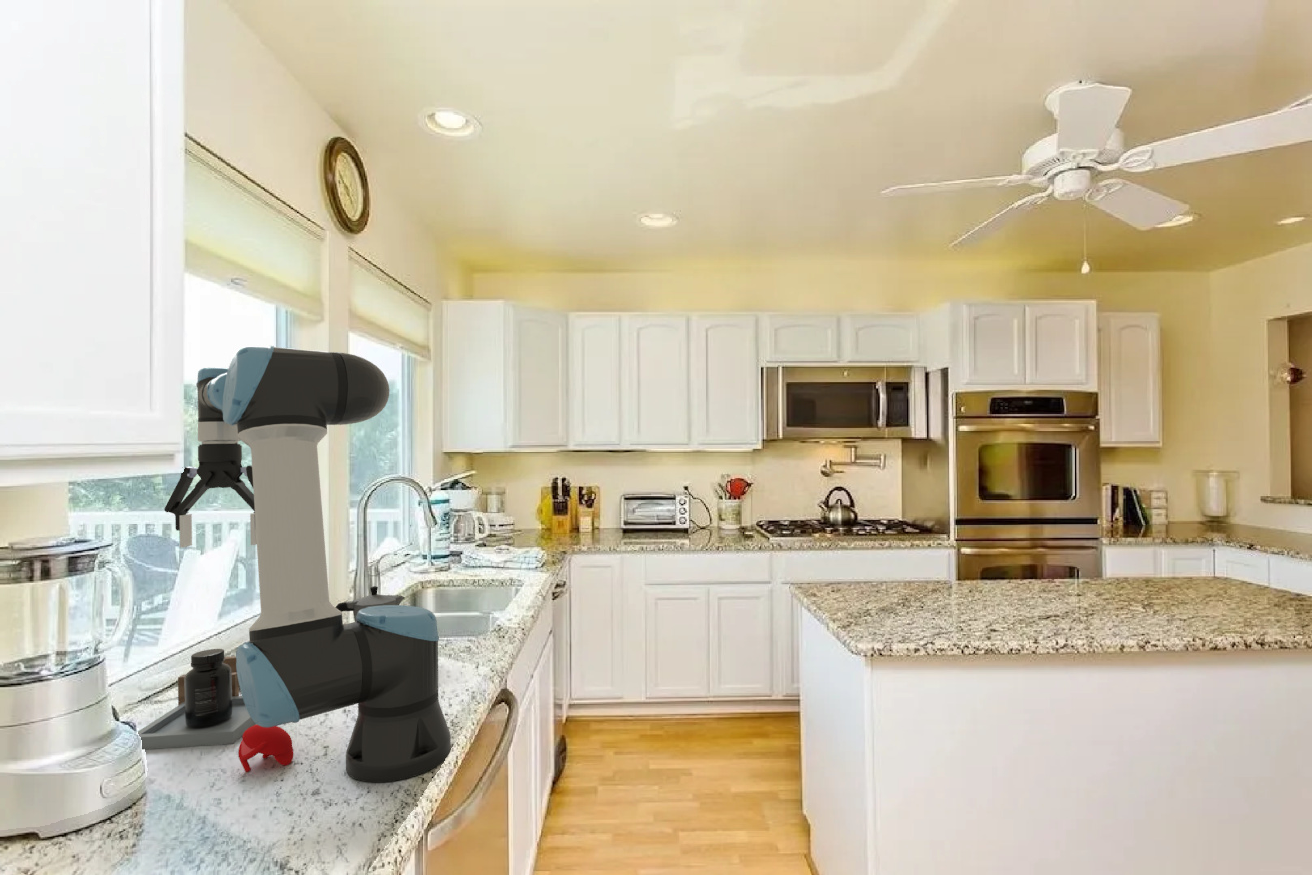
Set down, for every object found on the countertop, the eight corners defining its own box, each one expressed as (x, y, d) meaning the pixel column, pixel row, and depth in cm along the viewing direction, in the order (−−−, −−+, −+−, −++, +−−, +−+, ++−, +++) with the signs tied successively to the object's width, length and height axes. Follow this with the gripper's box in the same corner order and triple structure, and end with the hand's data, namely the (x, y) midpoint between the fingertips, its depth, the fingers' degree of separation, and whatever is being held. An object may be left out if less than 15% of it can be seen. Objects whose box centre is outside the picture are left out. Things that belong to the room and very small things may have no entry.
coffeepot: (396, 656, 148) (395, 578, 148) (413, 666, 141) (412, 584, 141) (324, 673, 137) (324, 589, 137) (339, 685, 130) (338, 596, 130)
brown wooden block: (235, 706, 120) (235, 674, 120) (178, 709, 119) (178, 677, 119) (265, 683, 132) (265, 654, 132) (213, 686, 130) (213, 657, 130)
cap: (221, 755, 94) (252, 736, 94) (243, 725, 100) (272, 706, 99) (260, 788, 97) (291, 769, 96) (279, 757, 102) (308, 739, 102)
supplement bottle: (241, 712, 115) (240, 646, 115) (212, 730, 108) (211, 659, 108) (206, 712, 116) (205, 646, 116) (174, 729, 109) (173, 659, 109)
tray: (233, 743, 105) (232, 731, 105) (127, 750, 103) (127, 737, 103) (279, 704, 121) (279, 693, 121) (188, 709, 119) (188, 698, 119)
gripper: (291, 442, 137) (292, 540, 137) (167, 444, 135) (168, 544, 134) (274, 441, 130) (276, 545, 130) (142, 443, 127) (143, 550, 127)
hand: (221, 545), depth 132 cm, fingers open, 13 cm apart
